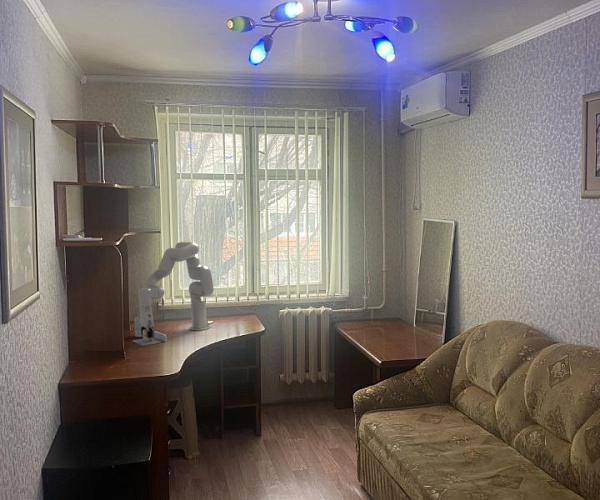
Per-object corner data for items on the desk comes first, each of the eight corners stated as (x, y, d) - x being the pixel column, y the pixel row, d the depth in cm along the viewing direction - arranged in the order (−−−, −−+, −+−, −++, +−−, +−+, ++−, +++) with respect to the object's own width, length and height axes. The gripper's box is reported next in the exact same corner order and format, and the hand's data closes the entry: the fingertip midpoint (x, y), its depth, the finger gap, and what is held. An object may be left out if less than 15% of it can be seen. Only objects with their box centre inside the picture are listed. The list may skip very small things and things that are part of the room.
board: (152, 337, 369) (152, 337, 369) (163, 342, 356) (162, 341, 356) (132, 341, 361) (132, 340, 361) (142, 346, 348) (142, 345, 348)
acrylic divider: (155, 337, 370) (155, 331, 370) (166, 341, 358) (166, 335, 357) (154, 337, 370) (154, 331, 369) (165, 341, 357) (165, 335, 357)
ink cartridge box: (153, 335, 377) (152, 312, 376) (149, 337, 371) (148, 314, 370) (139, 334, 379) (137, 312, 378) (134, 336, 373) (133, 314, 372)
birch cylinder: (149, 339, 362) (149, 328, 362) (153, 341, 358) (152, 329, 358) (141, 341, 359) (141, 329, 358) (145, 342, 355) (144, 331, 355)
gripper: (157, 309, 352) (158, 337, 354) (145, 305, 366) (147, 332, 367) (145, 311, 348) (147, 339, 349) (134, 307, 361) (135, 334, 363)
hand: (147, 336), depth 358 cm, fingers open, 9 cm apart
